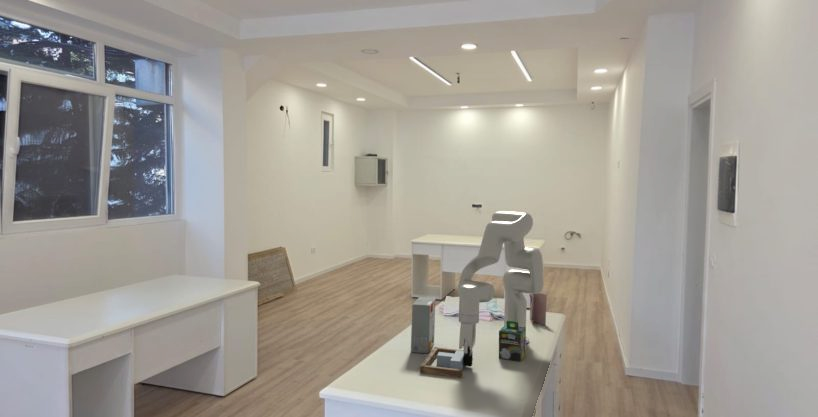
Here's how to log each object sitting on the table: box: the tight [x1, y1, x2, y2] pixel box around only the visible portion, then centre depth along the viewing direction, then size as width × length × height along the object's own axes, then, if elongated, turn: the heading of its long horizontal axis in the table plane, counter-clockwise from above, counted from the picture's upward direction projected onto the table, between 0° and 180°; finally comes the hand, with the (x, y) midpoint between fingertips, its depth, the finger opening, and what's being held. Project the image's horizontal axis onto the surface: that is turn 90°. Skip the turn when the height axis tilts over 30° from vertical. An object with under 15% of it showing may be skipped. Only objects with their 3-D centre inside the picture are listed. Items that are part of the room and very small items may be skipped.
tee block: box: [436, 349, 465, 370], centre depth 202 cm, size 12×10×4 cm
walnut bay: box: [419, 346, 474, 379], centre depth 203 cm, size 23×16×2 cm
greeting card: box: [528, 292, 547, 326], centre depth 265 cm, size 11×7×15 cm, turn 174°
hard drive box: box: [410, 296, 436, 354], centre depth 223 cm, size 16×8×20 cm, turn 168°
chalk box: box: [498, 321, 527, 362], centre depth 213 cm, size 9×9×15 cm
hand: (467, 365), depth 200 cm, fingers closed
